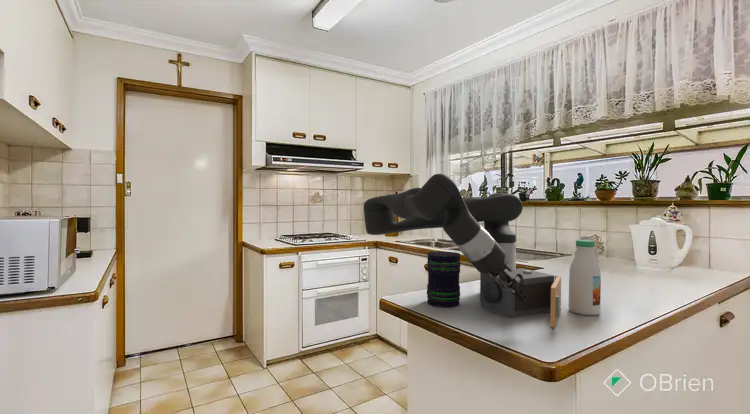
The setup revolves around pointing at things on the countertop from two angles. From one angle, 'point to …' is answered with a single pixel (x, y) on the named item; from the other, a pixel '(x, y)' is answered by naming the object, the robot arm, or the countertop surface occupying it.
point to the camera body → (508, 304)
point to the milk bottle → (584, 280)
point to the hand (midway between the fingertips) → (524, 299)
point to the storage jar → (443, 279)
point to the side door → (555, 301)
